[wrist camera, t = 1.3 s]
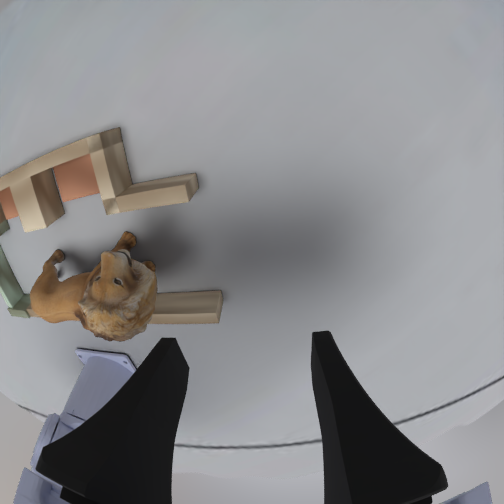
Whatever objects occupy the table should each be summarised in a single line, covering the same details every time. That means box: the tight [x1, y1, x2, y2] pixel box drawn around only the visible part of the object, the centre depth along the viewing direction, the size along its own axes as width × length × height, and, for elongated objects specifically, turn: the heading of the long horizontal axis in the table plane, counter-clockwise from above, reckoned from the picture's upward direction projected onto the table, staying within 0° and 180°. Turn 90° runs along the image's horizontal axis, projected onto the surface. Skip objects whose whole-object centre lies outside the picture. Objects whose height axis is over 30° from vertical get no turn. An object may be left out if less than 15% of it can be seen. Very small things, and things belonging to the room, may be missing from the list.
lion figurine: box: [30, 232, 157, 341], centre depth 16 cm, size 15×5×9 cm, turn 110°
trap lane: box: [0, 127, 223, 324], centre depth 18 cm, size 14×25×3 cm, turn 97°
